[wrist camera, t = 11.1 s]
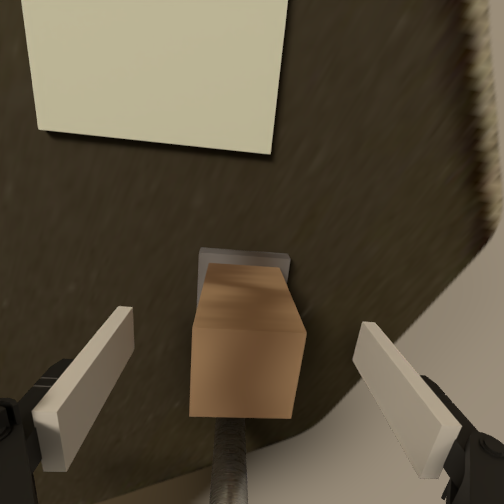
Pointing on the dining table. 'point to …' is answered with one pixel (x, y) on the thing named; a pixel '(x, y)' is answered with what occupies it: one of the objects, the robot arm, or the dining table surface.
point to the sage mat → (158, 69)
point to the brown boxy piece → (244, 336)
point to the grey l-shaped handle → (229, 462)
